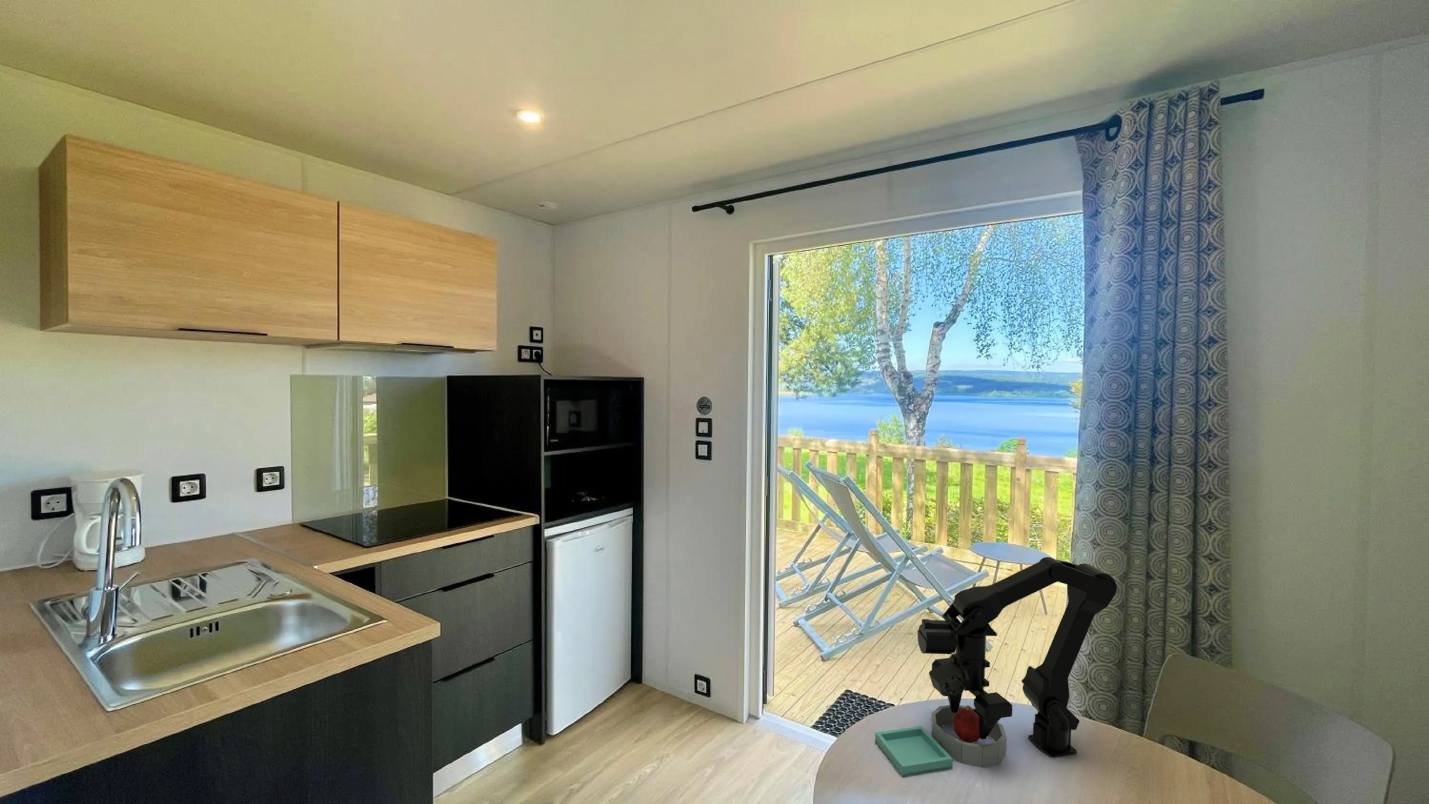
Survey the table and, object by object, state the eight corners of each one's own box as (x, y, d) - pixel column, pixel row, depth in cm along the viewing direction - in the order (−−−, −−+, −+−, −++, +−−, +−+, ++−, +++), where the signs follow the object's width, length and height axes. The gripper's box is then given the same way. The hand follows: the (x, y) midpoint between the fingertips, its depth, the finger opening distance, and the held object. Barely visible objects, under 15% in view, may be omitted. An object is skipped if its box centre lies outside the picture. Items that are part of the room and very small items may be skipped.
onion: (985, 753, 116) (986, 716, 116) (955, 750, 117) (956, 712, 117) (978, 736, 122) (979, 700, 121) (949, 732, 123) (950, 697, 123)
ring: (974, 718, 128) (974, 701, 128) (1020, 760, 114) (1021, 741, 114) (918, 726, 125) (918, 709, 125) (958, 770, 111) (959, 751, 111)
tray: (921, 735, 122) (921, 725, 122) (952, 768, 112) (952, 758, 112) (875, 741, 120) (875, 732, 120) (902, 776, 109) (902, 766, 109)
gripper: (911, 636, 126) (909, 704, 127) (965, 681, 108) (963, 760, 109) (955, 632, 128) (953, 698, 129) (1015, 675, 110) (1013, 752, 111)
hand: (968, 725), depth 119 cm, fingers open, 9 cm apart
